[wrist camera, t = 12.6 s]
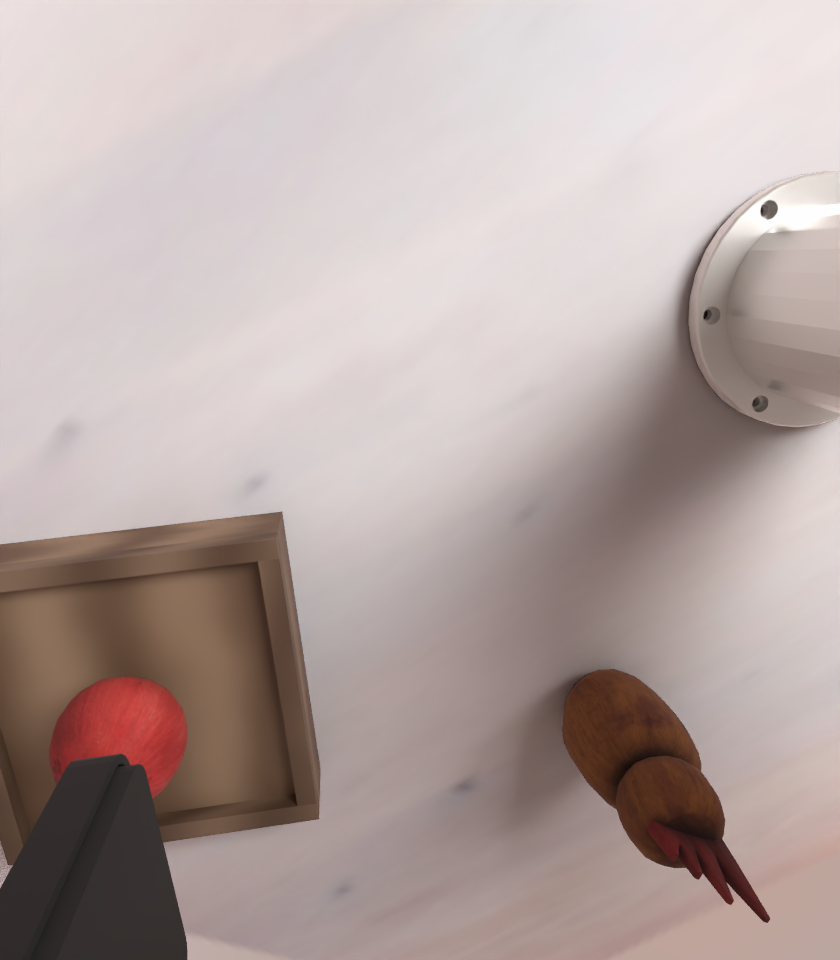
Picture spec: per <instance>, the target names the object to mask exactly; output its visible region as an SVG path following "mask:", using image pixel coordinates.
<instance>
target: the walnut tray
mask: <svg viewBox="0 0 840 960" xmlns="http://www.w3.org/2000/svg"><path fill="white" fill-rule="evenodd" d="M126 676H134V677H138V678H143V679H148V680H151V681H153V682H155V683H157V684H159V685H161V686H163V687H165V688H166V689H168V690H169V691H170V693H171V694H172V695H173V696H174V698H175V699H176V700H177V701H178V703H179V704H180V706H181V707H182V709H183V711H184V715H185V719H186V723H187V727H188V736H187V743H186V748H185V753H184V757H183V760H182V762H181V764H180V766H179V768H178V770H177V771H176V773H175V774H174V776H173V777H172V779H171V780H170V781H169V783H168V784H167V786H166V787H165V788H164V790H163V791H162V792H161V793H159V794H158V795H156V796H155V797H153V798H152V799H153V803H154V807H155V811H156V815H157V820H158V824H159V828H160V832H161V836H162V840H163V842H168V841H175V840H182V839H188V838H195V837H202V836H208V835H215V834H222V833H229V832H235V831H242V830H249V829H256V828H262V827H269V826H276V825H283V824H289V823H296V822H303V821H309V820H316V819H319V801H320V764H319V757H318V751H317V744H316V737H315V730H314V724H313V717H312V710H311V704H310V697H309V690H308V683H307V677H306V670H305V663H304V656H303V650H302V643H301V636H300V629H299V623H298V616H297V609H296V603H295V596H294V589H293V582H292V576H291V569H290V562H289V555H288V549H287V542H286V535H285V529H284V522H283V515H282V512H277V513H268V514H260V515H251V516H242V517H234V518H225V519H217V520H208V521H199V522H191V523H182V524H174V525H165V526H156V527H148V528H139V529H131V530H122V531H113V532H105V533H96V534H88V535H79V536H70V537H62V538H53V539H45V540H36V541H27V542H19V543H10V544H2V545H0V840H1V844H2V847H3V850H4V853H5V857H6V860H7V863H8V865H13V864H14V863H15V861H16V859H17V857H18V855H19V853H20V852H21V850H22V848H23V846H24V844H25V842H26V841H27V839H28V837H29V835H30V833H31V831H32V830H33V828H34V826H35V824H36V822H37V820H38V819H39V817H40V815H41V813H42V811H43V809H44V808H45V806H46V804H47V802H48V800H49V798H50V797H51V795H52V793H53V791H54V789H55V787H56V784H55V781H54V778H53V774H52V770H51V766H50V761H49V747H50V743H51V739H52V735H53V731H54V728H55V725H56V723H57V720H58V718H59V717H60V715H61V714H62V712H63V711H64V710H65V708H66V707H67V705H68V704H69V703H70V701H71V700H72V699H73V698H74V697H75V696H76V695H77V694H78V693H79V692H81V691H82V690H84V689H85V688H87V687H89V686H91V685H92V684H94V683H96V682H98V681H99V680H101V679H108V678H117V677H126Z"/></svg>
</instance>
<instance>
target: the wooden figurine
mask: <svg viewBox="0 0 840 960" xmlns="http://www.w3.org/2000/svg"><path fill="white" fill-rule="evenodd" d="M562 731H563V739H564V744H565V746H566V748H567V750H568V752H569V755H570V756H571V758H572V759H573V761H574V762H575V764H576V766H577V767H578V769H579V770H580V772H581V773H582V775H583V776H584V778H585V779H586V781H587V782H588V783H589V784H590V786H591V787H592V788H593V789H594V790H595V791H596V792H597V793H598V794H599V795H600V796H601V797H602V798H603V799H604V800H605V801H606V802H607V803H608V804H609V805H611V806H612V807H614V808H615V809H617V811H618V814H619V818H620V821H621V823H622V825H623V827H624V829H625V831H626V833H627V835H628V836H629V838H630V839H631V841H632V842H633V843H634V844H635V846H636V847H637V848H638V849H639V851H640V852H641V853H642V854H643V855H644V856H645V857H646V858H648V859H650V860H652V861H654V862H656V863H658V864H661V865H663V866H668V867H673V868H687V869H688V870H689V872H690V873H691V874H692V875H693V877H694V878H696V879H700V877H701V875H702V874H704V875H705V877H706V878H707V879H708V880H709V882H710V883H711V884H712V885H713V887H714V888H715V889H716V890H717V892H718V893H719V894H720V895H721V897H722V898H723V899H724V900H725V902H726V903H728V904H730V905H731V904H732V903H733V901H734V900H733V897H732V895H731V892H730V890H729V888H728V885H727V883H728V884H729V885H730V886H731V887H732V889H733V890H734V891H735V892H736V893H737V894H738V895H739V896H740V897H741V898H742V899H743V900H744V901H745V902H746V903H747V905H748V906H750V908H751V909H752V910H753V911H754V912H755V913H756V914H757V915H758V916H759V917H760V919H762V920H763V921H764V922H766V923H768V921H769V920H770V917H769V916H768V914H767V912H766V911H765V909H764V907H763V906H762V904H761V902H760V901H759V899H758V897H757V895H756V894H755V892H754V890H753V889H752V887H751V885H750V884H749V882H748V880H747V879H746V877H745V875H744V874H743V872H742V870H741V869H740V867H739V865H738V864H737V862H736V860H735V859H734V857H733V856H732V854H731V853H730V851H729V849H728V848H727V846H726V845H725V843H724V841H723V840H722V837H723V835H724V826H725V818H724V814H723V810H722V806H721V803H720V800H719V797H718V796H717V794H716V792H715V791H714V789H713V788H712V786H711V785H710V784H709V782H708V781H707V779H706V778H705V776H704V775H703V774H702V772H701V761H700V757H699V753H698V751H697V749H696V747H695V745H694V743H693V741H692V739H691V737H690V735H689V733H688V732H687V730H686V728H685V726H684V725H683V724H682V722H681V721H680V720H679V718H678V717H677V716H676V714H675V713H674V712H673V711H672V710H671V709H670V708H669V706H668V705H667V704H666V703H665V702H664V701H663V700H662V699H661V698H660V697H659V696H658V695H657V694H656V693H655V692H654V691H653V690H651V689H650V688H649V687H648V686H647V685H645V684H644V683H643V682H641V681H640V680H639V679H637V678H636V677H634V676H632V675H629V674H627V673H624V672H621V671H618V670H615V669H609V670H598V671H595V672H593V673H591V674H588V675H586V676H584V677H583V678H582V679H581V680H580V681H579V682H578V683H576V684H575V685H574V687H573V688H572V690H571V691H570V693H569V695H568V696H567V698H566V702H565V707H564V716H563V728H562ZM726 882H727V883H726Z"/></svg>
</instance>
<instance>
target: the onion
mask: <svg viewBox="0 0 840 960" xmlns="http://www.w3.org/2000/svg"><path fill="white" fill-rule="evenodd" d="M187 736H188V727H187V723H186V719H185V715H184V711H183V709H182V707H181V706H180V704H179V703H178V701H177V700H176V699H175V698H174V696H173V695H172V694H171V693H170V691H169V690H168V689H166V688H165V687H163V686H161V685H159V684H157V683H155V682H153V681H151V680H148V679H143V678H138V677H134V676H126V677H117V678H108V679H101V680H99V681H98V682H96V683H94V684H92V685H91V686H89V687H87V688H85V689H84V690H82V691H81V692H79V693H78V694H77V695H76V696H75V697H74V698H73V699H72V700H71V701H70V703H69V704H68V705H67V707H66V708H65V710H64V711H63V712H62V714H61V715H60V717H59V718H58V720H57V723H56V725H55V728H54V731H53V735H52V739H51V743H50V747H49V761H50V766H51V770H52V774H53V778H54V781H55V784H56V786H57V784H58V782H59V780H60V778H61V776H62V775H63V773H64V771H65V769H66V768H67V766H68V765H69V764H70V762H72V761H74V760H79V759H87V758H94V757H101V756H108V755H115V754H123V755H125V756H126V757H127V759H128V760H129V763H130V765H136V764H141V765H143V767H144V769H145V771H146V774H147V778H148V782H149V786H150V791H151V795H152V798H153V797H155V796H156V795H158V794H159V793H161V792H162V791H163V790H164V788H165V787H166V786H167V784H168V783H169V781H170V780H171V779H172V777H173V776H174V774H175V773H176V771H177V770H178V768H179V766H180V764H181V762H182V760H183V757H184V753H185V748H186V743H187Z"/></svg>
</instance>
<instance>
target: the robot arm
mask: <svg viewBox="0 0 840 960" xmlns="http://www.w3.org/2000/svg"><path fill="white" fill-rule="evenodd" d="M761 206H762V207H763V214H762V215H761V212H760V210H761ZM705 311H707V313H708V314H707V317H706V318H705V319H704V318H703V315H704V312H705ZM688 323H689V332H690V340H691V346H692V349H693V352H694V355H695V358H696V362H697V365H698V367H699V369H700V371H701V372H702V374H703V376H704V378H705V379H706V381H707V383H708V385H709V386H710V387H711V388H712V389H713V390H714V391H715V392H716V394H717V395H718V396H719V397H720V398H721V399H722V400H723V401H724V402H726V403H727V404H729V405H730V406H731V407H733V408H734V409H736V410H737V411H738V412H740V413H743V414H745V415H747V416H749V417H752V418H754V419H756V420H760V421H763V422H766V423H769V424H773V425H776V426H788V427H803V426H812V425H819V424H823V423H826V422H829V421H832V420H836V419H839V418H840V172H835V171H823V172H816V173H810V174H804V175H800V176H796V177H793V178H790V179H786V180H783V181H780V182H778V183H776V184H774V185H772V186H770V187H768V188H766V189H764V190H762V191H760V192H759V193H757V194H756V195H754V196H753V197H752V198H750V199H749V200H748V201H747V202H745V203H744V204H743V205H741V206H740V207H739V208H738V209H737V210H736V211H735V212H734V213H733V214H732V215H731V216H730V217H729V218H728V219H727V221H726V222H725V223H724V224H723V225H722V226H721V227H720V228H719V230H718V232H717V233H716V235H715V236H714V238H713V239H712V241H711V242H710V244H709V246H708V247H707V249H706V250H705V253H704V255H703V257H702V260H701V262H700V264H699V267H698V269H697V272H696V274H695V278H694V282H693V287H692V291H691V295H690V303H689V319H688ZM754 399H755V402H754V403H753V400H754ZM752 403H753V404H752ZM0 960H187V942H186V936H185V932H184V928H183V924H182V919H181V915H180V911H179V907H178V903H177V899H176V895H175V890H174V886H173V882H172V878H171V874H170V870H169V865H168V861H167V857H166V853H165V849H164V845H163V840H162V836H161V832H160V828H159V824H158V820H157V815H156V811H155V807H154V803H153V799H152V795H151V791H150V786H149V782H148V778H147V774H146V771H145V769H144V767H143V765H141V764H136V765H130V763H129V760H128V759H127V757H126V756H125V755H123V754H115V755H108V756H101V757H94V758H87V759H79V760H74V761H72V762H70V764H69V765H68V766H67V768H66V769H65V771H64V773H63V775H62V776H61V778H60V780H59V782H58V784H57V786H56V787H55V789H54V791H53V793H52V795H51V797H50V798H49V800H48V802H47V804H46V806H45V808H44V809H43V811H42V813H41V815H40V817H39V819H38V820H37V822H36V824H35V826H34V828H33V830H32V831H31V833H30V835H29V837H28V839H27V841H26V842H25V844H24V846H23V848H22V850H21V852H20V853H19V855H18V857H17V859H16V861H15V863H14V864H13V866H12V868H11V870H10V872H9V874H8V875H7V877H6V879H5V881H4V883H3V885H2V886H1V888H0Z"/></svg>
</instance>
